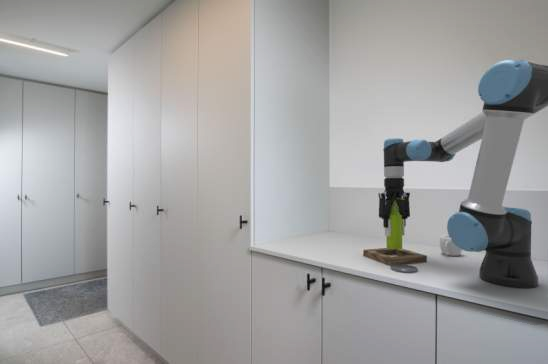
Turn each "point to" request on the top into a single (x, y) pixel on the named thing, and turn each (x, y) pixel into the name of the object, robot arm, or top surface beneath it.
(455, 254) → the mug
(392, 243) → the soap dispenser
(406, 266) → the coaster
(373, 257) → the pocket frame
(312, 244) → the top surface
